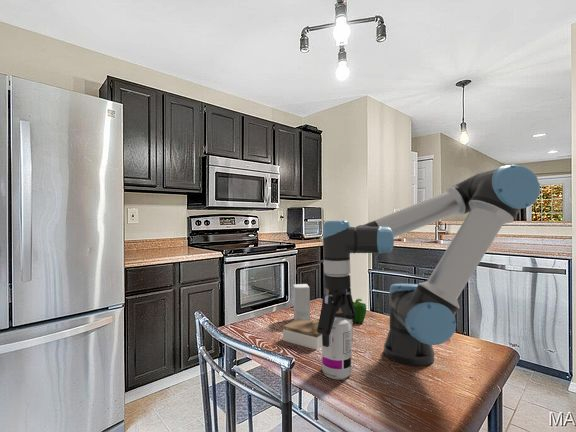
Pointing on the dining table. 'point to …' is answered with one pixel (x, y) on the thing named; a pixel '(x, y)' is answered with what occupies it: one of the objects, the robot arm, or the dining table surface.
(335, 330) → the supplement can
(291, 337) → the keepsake box
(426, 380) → the dining table surface
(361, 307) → the bell pepper
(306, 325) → the lid
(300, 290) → the skincare box
